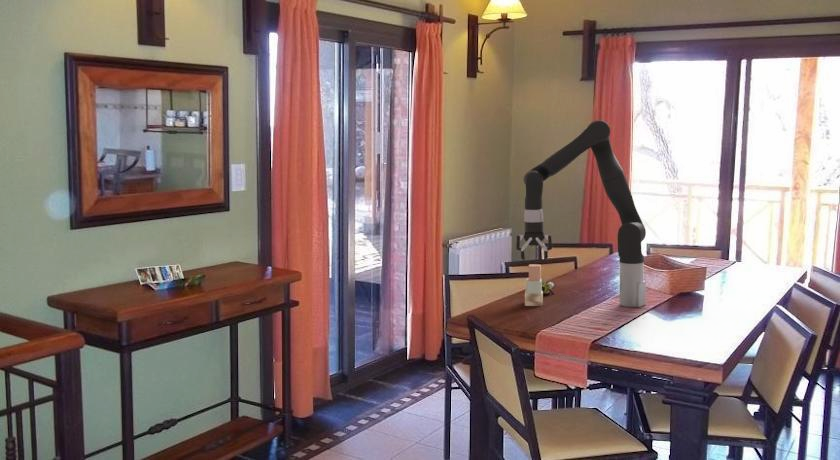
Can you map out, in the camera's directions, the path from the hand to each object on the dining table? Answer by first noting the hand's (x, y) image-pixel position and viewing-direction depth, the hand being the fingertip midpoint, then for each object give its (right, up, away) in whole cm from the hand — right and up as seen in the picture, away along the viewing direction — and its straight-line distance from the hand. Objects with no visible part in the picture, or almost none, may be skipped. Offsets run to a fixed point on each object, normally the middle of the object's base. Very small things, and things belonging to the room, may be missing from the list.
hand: (534, 260), depth 317 cm
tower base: (0, -18, +2) cm, 18 cm away
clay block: (0, -8, +1) cm, 8 cm away
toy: (+7, -16, +19) cm, 26 cm away
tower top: (0, -13, +1) cm, 13 cm away
